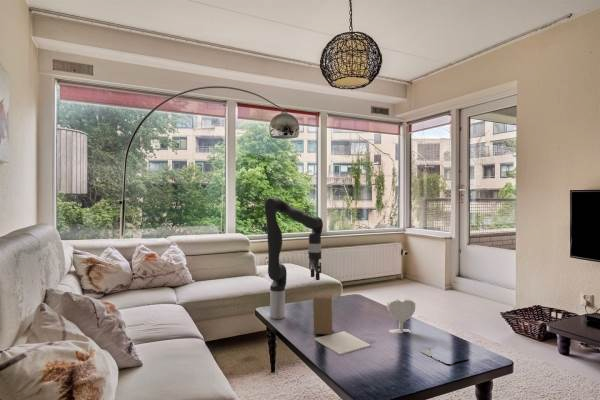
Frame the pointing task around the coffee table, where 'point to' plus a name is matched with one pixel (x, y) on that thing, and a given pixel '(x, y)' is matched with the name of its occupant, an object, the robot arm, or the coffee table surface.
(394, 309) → the heart sculpture
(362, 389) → the coffee table surface
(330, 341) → the mat
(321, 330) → the block
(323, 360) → the coffee table surface
